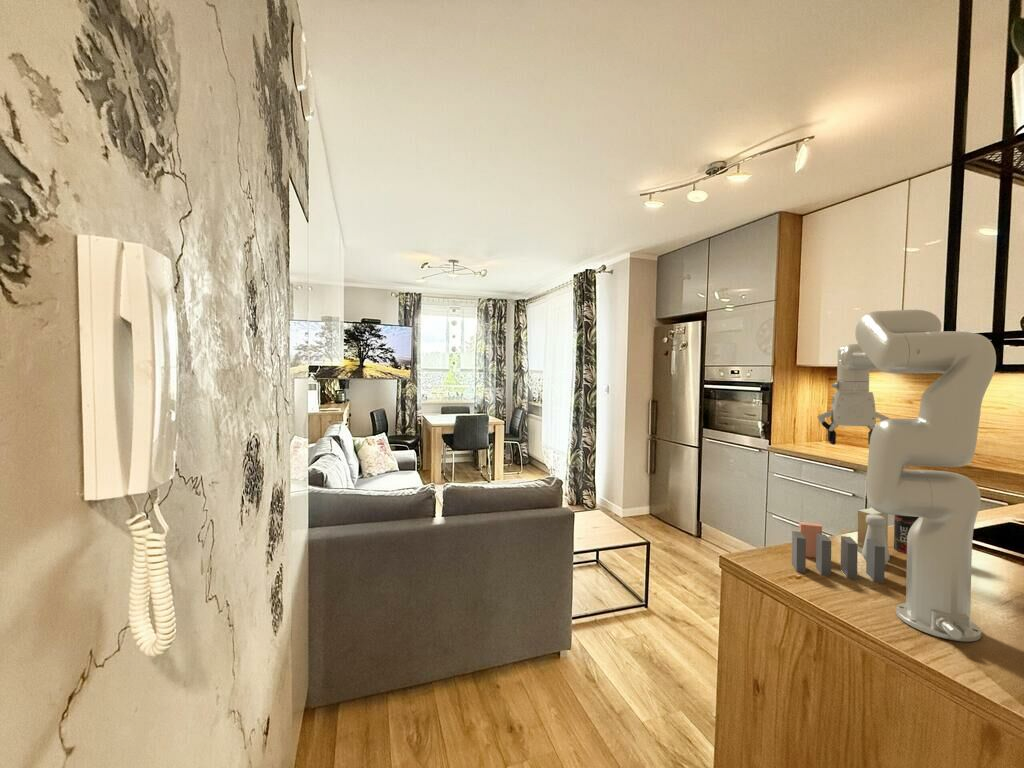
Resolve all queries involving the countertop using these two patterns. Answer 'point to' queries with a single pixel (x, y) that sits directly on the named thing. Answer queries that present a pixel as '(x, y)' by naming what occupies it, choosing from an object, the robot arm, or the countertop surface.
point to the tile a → (799, 551)
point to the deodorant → (902, 531)
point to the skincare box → (864, 526)
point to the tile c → (849, 557)
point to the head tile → (810, 536)
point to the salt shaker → (876, 533)
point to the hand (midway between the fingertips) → (851, 444)
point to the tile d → (875, 560)
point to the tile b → (823, 554)
